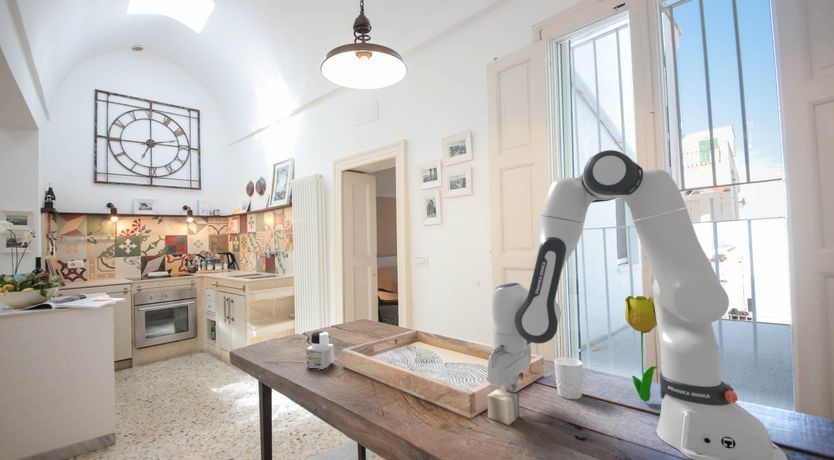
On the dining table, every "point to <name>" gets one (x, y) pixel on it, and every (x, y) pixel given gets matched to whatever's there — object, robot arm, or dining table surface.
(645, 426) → the dining table surface
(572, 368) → the white cup
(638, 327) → the flower
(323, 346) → the container
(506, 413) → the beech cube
